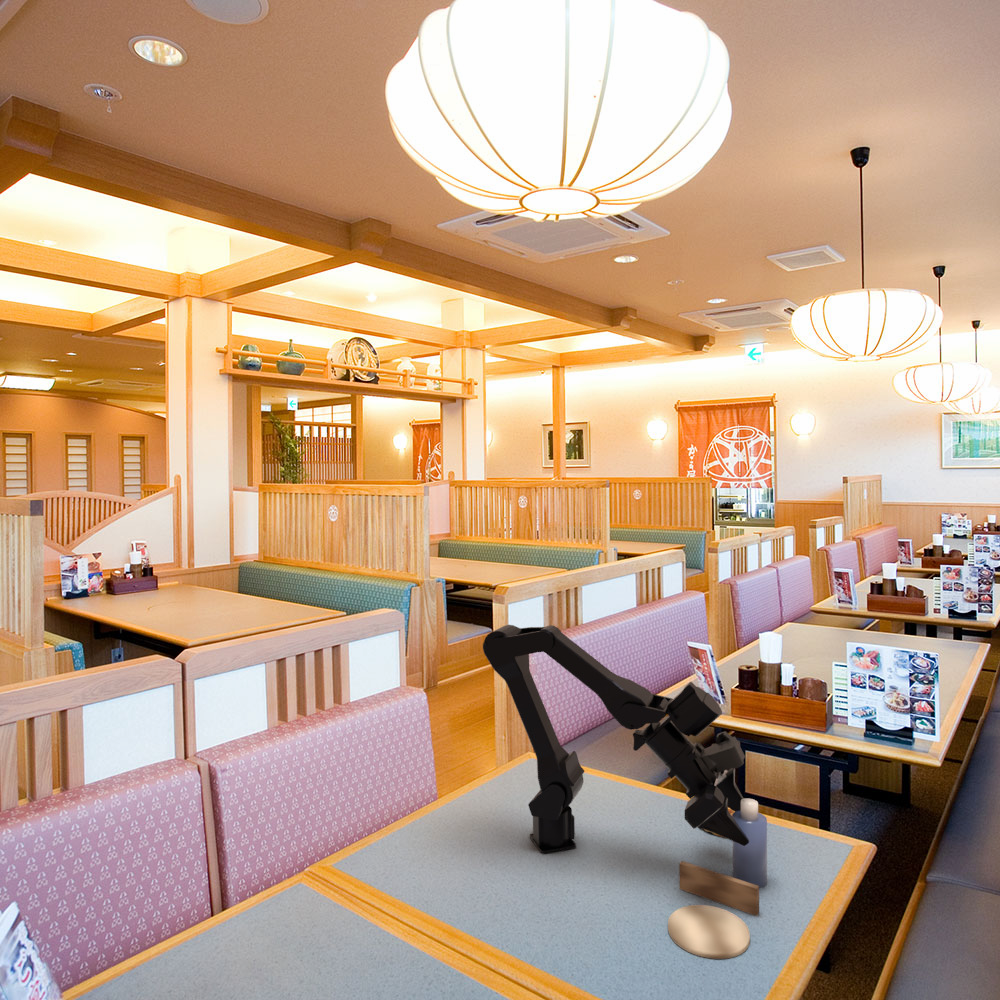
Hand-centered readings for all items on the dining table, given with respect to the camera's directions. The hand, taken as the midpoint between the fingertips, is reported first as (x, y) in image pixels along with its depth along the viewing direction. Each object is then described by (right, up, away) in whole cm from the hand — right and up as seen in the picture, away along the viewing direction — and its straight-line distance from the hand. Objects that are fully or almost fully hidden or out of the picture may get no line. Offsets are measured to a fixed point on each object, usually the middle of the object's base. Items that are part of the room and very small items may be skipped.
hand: (749, 830), depth 116 cm
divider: (-7, -8, -5) cm, 12 cm away
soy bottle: (0, -8, 0) cm, 8 cm away
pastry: (+1, -8, +17) cm, 19 cm away
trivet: (-10, -8, -13) cm, 19 cm away
